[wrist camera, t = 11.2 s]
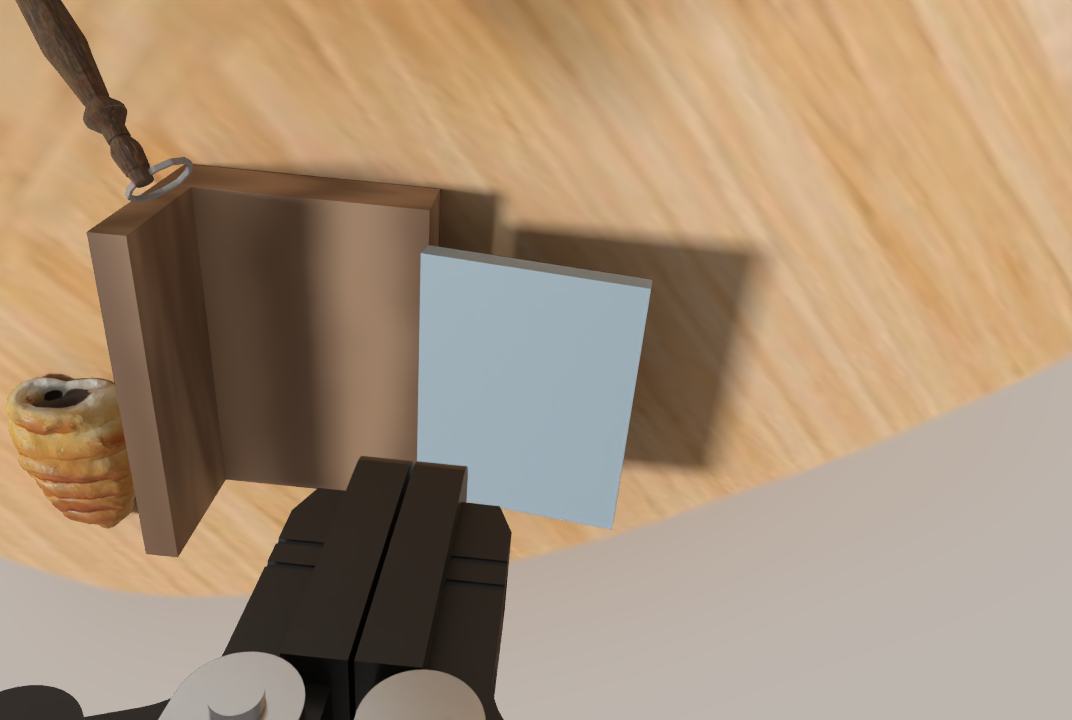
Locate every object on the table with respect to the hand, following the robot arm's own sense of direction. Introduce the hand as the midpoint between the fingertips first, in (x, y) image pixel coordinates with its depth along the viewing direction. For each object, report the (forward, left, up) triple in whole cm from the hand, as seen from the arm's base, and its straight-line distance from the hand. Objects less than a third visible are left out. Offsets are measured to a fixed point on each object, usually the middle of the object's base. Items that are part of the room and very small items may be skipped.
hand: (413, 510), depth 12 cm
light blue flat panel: (+4, +13, -26) cm, 29 cm away
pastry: (+23, +21, -30) cm, 43 cm away
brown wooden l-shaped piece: (+10, +13, -29) cm, 33 cm away
